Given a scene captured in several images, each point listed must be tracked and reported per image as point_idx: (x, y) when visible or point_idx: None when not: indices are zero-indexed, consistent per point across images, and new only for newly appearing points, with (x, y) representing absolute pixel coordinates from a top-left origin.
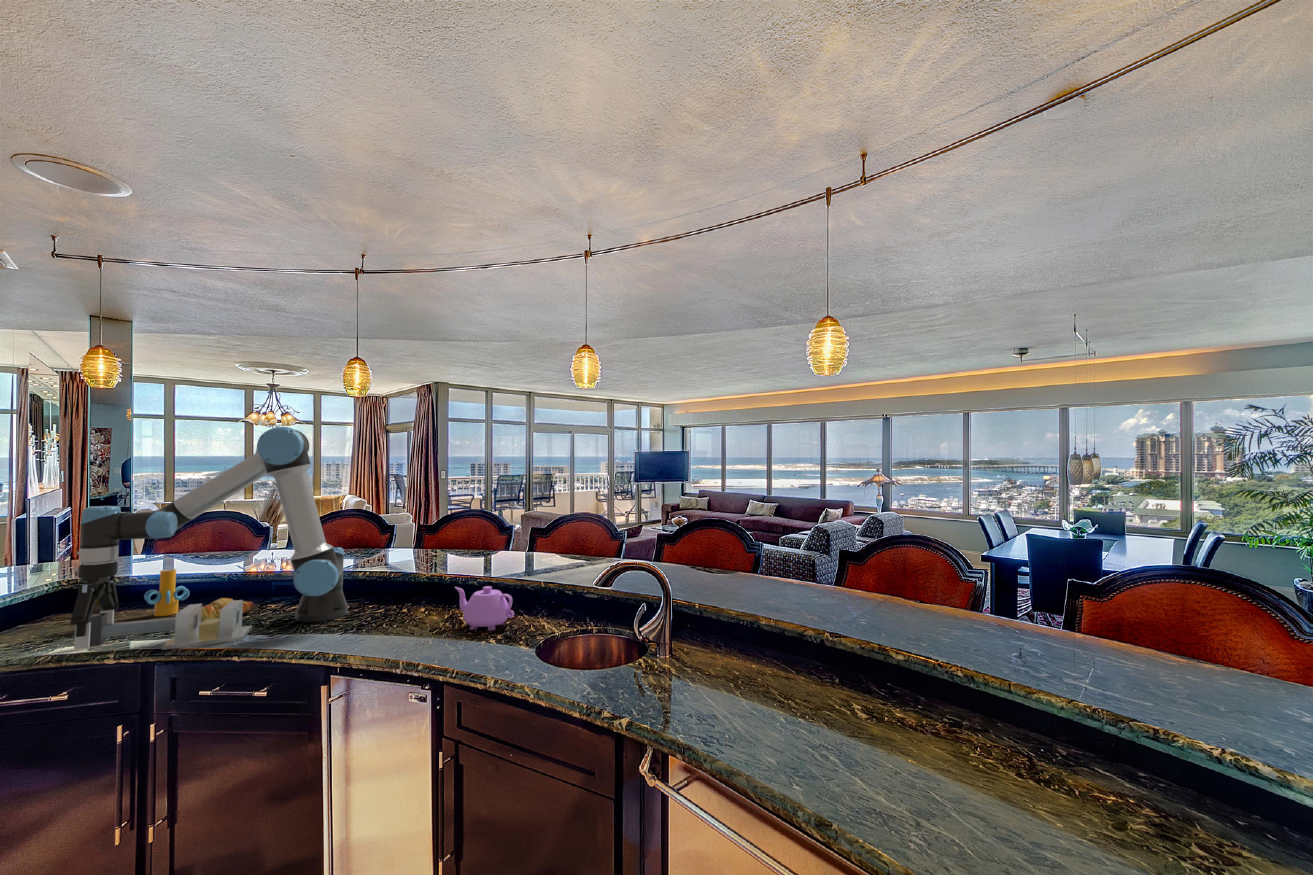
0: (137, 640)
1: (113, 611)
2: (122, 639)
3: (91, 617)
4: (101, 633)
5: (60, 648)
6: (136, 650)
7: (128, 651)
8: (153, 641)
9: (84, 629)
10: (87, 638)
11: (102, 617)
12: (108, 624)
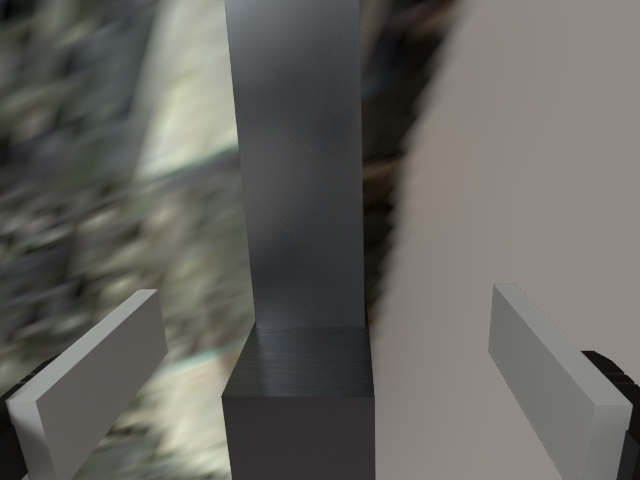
0: (146, 141)
1: (32, 389)
2: (97, 242)
3: (374, 470)
4: (364, 295)
5: (188, 459)
6: (408, 39)
7: (410, 85)
8: (206, 15)
9: (617, 388)
10: (547, 321)
11: (358, 379)
12: (294, 301)
